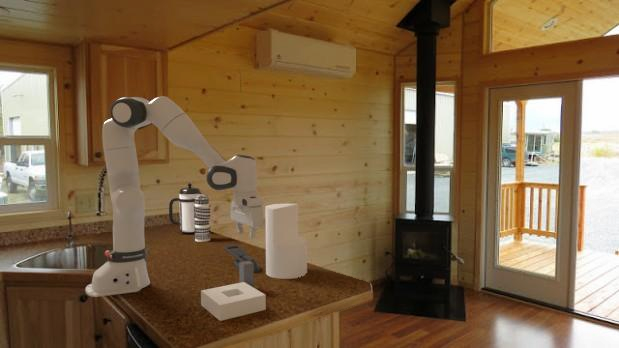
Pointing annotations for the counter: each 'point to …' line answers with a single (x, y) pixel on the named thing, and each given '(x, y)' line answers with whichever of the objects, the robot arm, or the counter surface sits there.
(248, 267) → the metal bar
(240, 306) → the well block
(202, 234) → the decorative candle
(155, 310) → the counter surface
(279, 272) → the cylinder
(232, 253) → the zipper pull
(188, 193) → the coffee press
